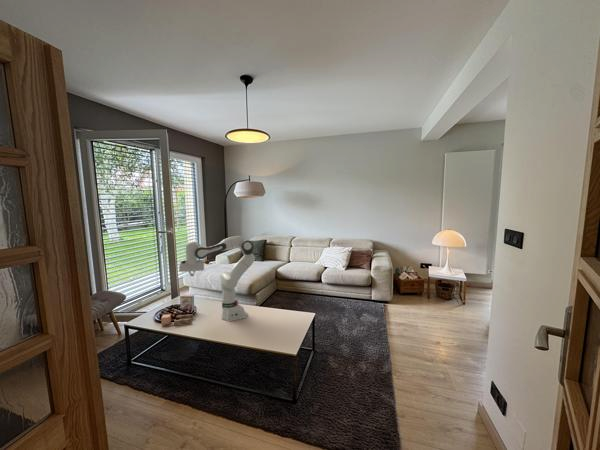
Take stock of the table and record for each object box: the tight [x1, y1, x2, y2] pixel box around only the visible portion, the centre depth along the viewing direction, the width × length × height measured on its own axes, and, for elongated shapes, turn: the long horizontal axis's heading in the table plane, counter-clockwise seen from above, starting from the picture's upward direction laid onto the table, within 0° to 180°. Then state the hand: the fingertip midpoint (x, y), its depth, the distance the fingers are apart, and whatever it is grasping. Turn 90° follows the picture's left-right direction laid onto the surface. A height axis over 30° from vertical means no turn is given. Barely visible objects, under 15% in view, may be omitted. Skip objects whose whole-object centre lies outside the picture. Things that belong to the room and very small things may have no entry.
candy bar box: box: [179, 293, 195, 311], centre depth 230 cm, size 11×5×16 cm, turn 84°
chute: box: [163, 313, 194, 328], centre depth 212 cm, size 21×10×4 cm, turn 104°
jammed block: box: [160, 313, 172, 326], centre depth 209 cm, size 6×6×6 cm
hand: (192, 275), depth 220 cm, fingers closed
